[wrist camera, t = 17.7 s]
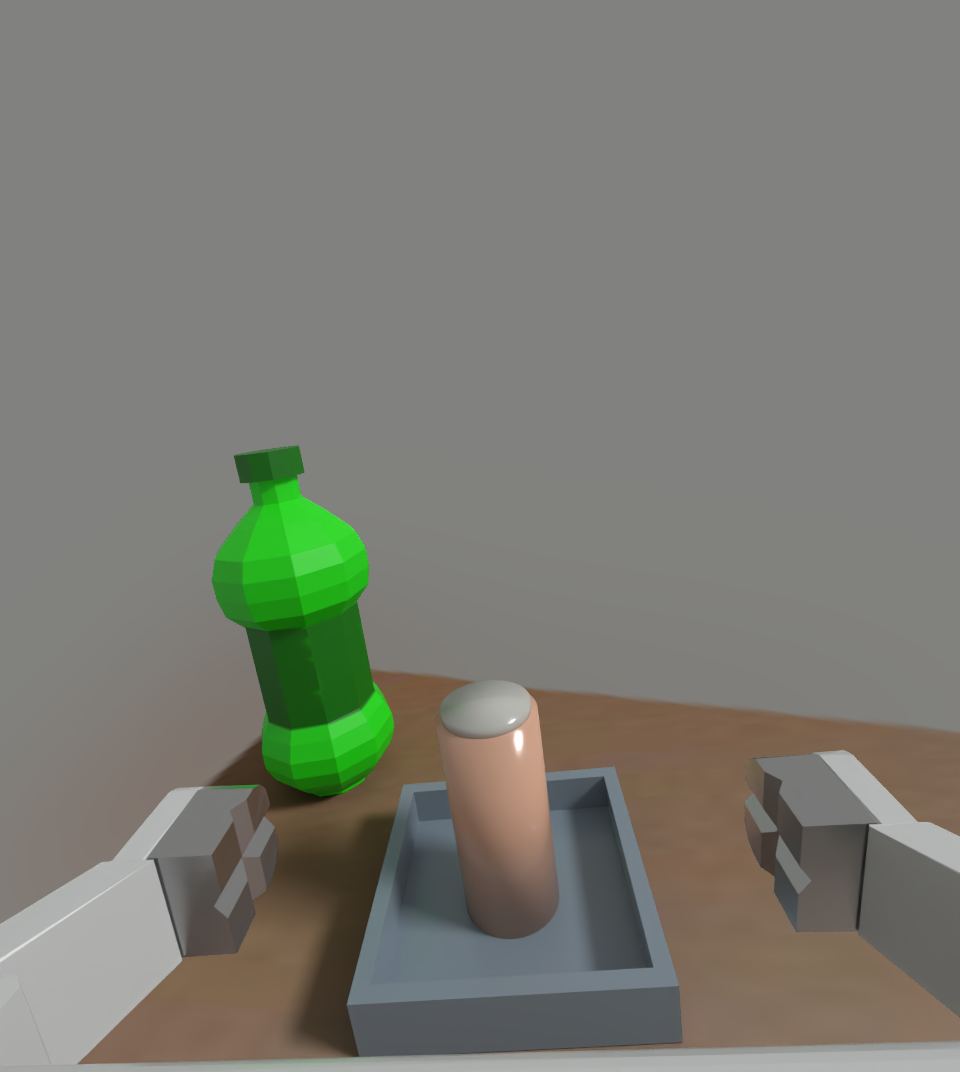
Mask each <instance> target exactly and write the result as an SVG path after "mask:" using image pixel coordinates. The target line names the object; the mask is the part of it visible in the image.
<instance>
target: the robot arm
mask: <svg viewBox="0 0 960 1072" xmlns="http://www.w3.org/2000/svg"><path fill="white" fill-rule="evenodd" d="M745 780H746V782H747V783H748V785H749V786H750V788H751V790H752V791H753V793H752V794H751V796H750V797H749V798H748V799H747V801H746V802H745V825H746V830H747V835H748V840H749V843H750V845H751V848H752V851H753V853H754V855H755V857H756V859H757V861H758V863H759V865H760V867H761V868H763V869H764V870H766V871H767V872H769V873H770V874H771V875H773V876H774V877H775V884H774V892H775V894H776V896H777V898H778V900H779V902H780V903H781V905H782V907H783V909H784V911H785V912H786V914H787V916H788V918H789V920H790V921H791V923H792V925H793V927H794V929H795V931H796V932H859V933H858V935H859V936H860V937H862V938H863V939H864V940H865V941H866V942H868V943H869V944H870V945H871V946H873V947H874V948H875V949H876V950H878V951H879V952H880V953H881V954H882V955H884V956H885V957H886V958H887V959H889V960H890V961H891V962H892V963H894V964H895V965H896V966H897V967H898V968H900V969H901V970H902V971H903V972H905V973H906V974H907V975H908V976H909V977H911V978H912V979H913V980H914V981H916V982H917V983H918V984H919V985H921V986H922V987H923V988H924V989H925V990H927V991H928V992H929V993H930V994H932V995H933V996H934V997H935V998H937V999H938V1000H939V1001H940V1002H941V1003H943V1004H944V1005H945V1006H946V1007H948V1008H949V1009H950V1010H951V1011H952V1012H954V1013H955V1014H956V1015H957V1016H959V1017H960V837H959V836H957V835H955V834H953V833H951V832H949V831H947V830H945V829H943V828H940V827H938V826H936V825H934V824H932V823H930V822H917V821H916V820H915V819H914V818H913V817H912V815H911V814H910V813H909V812H908V811H907V810H906V809H905V808H904V807H903V806H902V805H901V804H900V803H899V802H898V801H897V800H896V799H895V798H894V797H893V796H892V795H891V794H890V793H889V792H888V791H887V790H886V789H885V788H884V787H883V786H882V785H881V784H880V783H879V782H878V781H877V779H876V778H875V777H874V776H873V775H872V774H871V773H870V772H869V771H868V770H867V769H866V768H865V767H864V766H863V765H862V764H861V763H860V762H859V761H858V760H857V759H856V758H855V757H854V756H853V755H852V754H851V753H849V752H846V751H844V750H841V751H829V752H818V753H812V754H806V755H789V756H773V757H756V758H749V759H748V761H747V764H746V774H745ZM269 806H270V802H269V799H268V795H267V791H266V788H264V787H263V786H261V785H233V786H206V787H188V788H187V787H186V788H177V789H174V790H172V791H170V792H169V793H168V794H167V795H166V796H165V798H164V799H163V800H162V801H161V802H160V804H159V805H158V806H157V807H156V808H155V810H154V811H153V812H152V813H151V815H150V816H149V817H148V818H147V819H146V821H145V822H144V823H143V824H142V825H141V827H140V828H139V829H138V830H137V831H136V833H135V834H134V835H133V836H132V837H131V839H130V840H129V841H128V842H127V844H126V845H125V846H124V847H123V848H122V850H121V851H120V852H119V853H118V854H117V856H116V857H115V858H114V859H113V860H112V861H111V862H101V863H100V864H98V865H96V866H95V867H93V868H92V869H90V870H88V871H87V872H85V873H83V874H82V875H80V876H78V877H77V878H75V879H74V880H72V881H70V882H69V883H67V884H66V885H64V886H62V887H60V888H59V889H57V890H55V891H54V892H52V893H51V894H49V895H47V896H46V897H44V898H42V899H41V900H39V901H37V902H36V903H34V904H32V905H31V906H29V907H28V908H26V909H24V910H23V911H21V912H19V913H18V914H16V915H14V916H13V917H11V918H10V919H8V920H6V921H5V922H3V923H1V924H0V1072H960V1041H932V1042H895V1043H859V1044H823V1045H785V1046H747V1047H708V1048H670V1049H632V1050H593V1051H556V1052H519V1053H482V1054H445V1055H409V1056H372V1057H335V1058H298V1059H261V1060H224V1061H187V1062H150V1063H113V1064H77V1063H78V1062H79V1061H80V1060H81V1059H82V1058H83V1057H84V1056H86V1055H87V1054H88V1053H89V1052H90V1051H91V1050H92V1049H93V1048H94V1047H95V1046H96V1045H97V1044H98V1043H99V1042H100V1041H101V1040H102V1039H103V1038H104V1037H105V1036H106V1035H107V1034H108V1033H109V1032H110V1031H111V1030H112V1029H113V1028H114V1027H115V1026H116V1025H117V1024H118V1023H119V1022H120V1021H121V1020H122V1019H123V1018H124V1017H125V1016H126V1015H127V1014H128V1013H129V1012H130V1011H131V1010H132V1009H133V1008H135V1007H136V1006H137V1005H138V1004H139V1003H140V1002H141V1001H142V1000H143V999H144V998H145V997H146V996H147V995H148V994H149V993H150V992H151V991H152V990H153V989H154V988H155V987H156V986H157V985H158V984H159V983H160V982H161V981H162V980H163V979H164V978H165V977H166V976H167V975H168V974H169V973H170V972H171V971H172V970H173V969H174V968H175V967H176V966H177V965H178V964H179V963H180V962H181V961H182V957H194V956H208V955H222V954H236V953H237V952H238V950H239V948H240V945H241V943H242V941H243V939H244V937H245V935H246V933H247V931H248V929H249V926H250V924H251V922H252V920H253V918H254V916H255V910H254V905H253V900H255V899H256V898H257V897H258V896H259V895H261V894H262V893H263V892H264V891H265V890H267V888H268V886H269V883H270V881H271V879H272V877H273V874H274V870H275V866H276V861H277V856H278V839H277V834H276V829H275V827H274V826H273V825H272V824H271V823H270V822H269V821H268V820H267V819H266V818H265V817H264V815H265V814H266V812H267V810H268V808H269Z"/></svg>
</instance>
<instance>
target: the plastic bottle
mask: <svg viewBox="0 0 960 1072" xmlns="http://www.w3.org/2000/svg"><path fill="white" fill-rule="evenodd" d="M234 458H235V463H236V467H237V471H238V475H239V479H240V483H249V485H250V489H251V493H252V498H253V502H254V504H253V506H252V507H251V508H250V509H249V510H248V512H247V513H246V514H245V515H244V516H243V518H242V519H241V520H240V521H239V522H238V524H237V525H236V526H235V528H234V529H233V530H232V532H231V533H230V534H229V536H228V538H227V539H226V540H225V541H224V543H223V544H222V546H221V547H220V548H219V550H218V552H217V555H216V558H215V563H214V570H213V577H212V583H213V587H214V591H215V595H216V599H217V601H218V603H219V605H220V607H221V609H222V611H223V613H224V614H225V616H226V618H228V619H230V620H232V621H234V622H236V623H237V624H239V625H241V626H243V627H245V628H246V631H247V635H248V639H249V643H250V647H251V651H252V655H253V659H254V664H255V668H256V672H257V676H258V680H259V684H260V688H261V692H262V696H263V700H264V704H265V708H266V714H265V717H264V723H263V728H262V756H263V760H264V764H265V767H266V769H267V770H268V772H269V773H270V774H271V775H272V776H273V777H274V778H275V779H276V780H278V781H280V782H282V783H284V784H286V785H289V786H291V787H294V788H296V789H299V790H301V791H304V792H306V793H312V794H315V795H317V796H320V797H322V796H329V795H335V794H342V793H344V792H346V791H348V790H350V789H351V788H353V787H355V786H357V785H358V784H360V783H362V782H363V781H364V779H365V778H366V776H367V775H368V774H369V773H370V772H371V771H372V770H373V768H374V767H375V765H376V764H377V762H378V761H379V759H380V758H381V756H382V755H383V753H384V752H385V750H386V748H387V747H388V745H389V743H390V742H391V739H392V735H393V730H394V723H393V717H392V713H391V711H390V708H389V706H388V704H387V702H386V700H385V698H384V696H383V694H382V693H381V691H380V690H379V688H378V687H377V685H376V684H375V683H374V682H373V681H372V676H371V670H370V665H369V661H368V655H367V650H366V645H365V640H364V634H363V629H362V624H361V619H360V615H359V609H358V604H357V600H358V598H359V597H360V595H361V594H362V592H363V591H364V589H365V588H366V586H367V585H368V576H369V575H368V574H369V564H368V558H367V553H366V548H365V546H364V545H363V543H362V541H361V540H360V538H359V536H358V535H357V533H356V532H355V531H354V529H353V528H352V527H351V526H350V525H349V524H347V523H346V522H344V521H343V520H341V519H339V518H338V517H337V516H335V515H333V514H332V513H330V512H329V511H327V510H326V509H324V508H322V507H320V506H319V505H317V504H315V503H313V502H311V501H310V500H308V499H306V498H304V497H302V496H301V493H300V488H299V484H298V479H297V475H298V474H301V473H304V468H303V463H302V459H301V454H300V450H299V446H289V447H280V448H273V449H266V450H260V451H254V452H247V453H242V454H237V455H234Z"/></svg>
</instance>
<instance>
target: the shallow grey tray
mask: <svg viewBox="0 0 960 1072" xmlns="http://www.w3.org/2000/svg"><path fill="white" fill-rule="evenodd" d="M545 775H546V783H547V792H548V800H549V809H550V817H551V825H552V834H553V842H554V851H555V859H556V868H557V876H558V885H559V896H560V898H559V904H558V908H557V910H556V912H555V914H554V916H553V918H552V919H551V920H550V921H549V923H548V924H547V925H546V926H544V927H543V928H542V929H541V930H539V931H538V932H536V933H534V934H532V935H529V936H527V937H523V938H518V939H501V938H497V937H493V936H491V935H488V934H486V933H485V932H483V931H482V930H480V929H479V928H478V927H477V926H476V925H475V924H474V923H473V921H472V920H471V918H470V916H469V914H468V911H467V907H466V901H465V895H464V889H463V883H462V877H461V871H460V865H459V859H458V853H457V847H456V841H455V835H454V829H453V823H452V817H451V811H450V806H449V800H448V794H447V788H446V782H445V781H443V782H431V783H419V784H407V785H403V788H402V792H401V796H400V800H399V804H398V808H397V812H396V815H395V819H394V823H393V827H392V831H391V835H390V839H389V843H388V847H387V850H386V854H385V858H384V862H383V866H382V870H381V874H380V878H379V881H378V885H377V889H376V893H375V897H374V901H373V905H372V909H371V913H370V916H369V920H368V924H367V928H366V932H365V936H364V940H363V944H362V948H361V951H360V955H359V959H358V963H357V967H356V971H355V975H354V979H353V982H352V986H351V990H350V994H349V998H348V1002H347V1008H348V1013H349V1017H350V1021H351V1025H352V1029H353V1033H354V1037H355V1041H356V1045H357V1049H358V1054H359V1057H372V1056H409V1055H441V1054H461V1053H481V1052H501V1051H521V1050H540V1049H560V1048H580V1047H600V1046H620V1045H640V1044H660V1043H680V1042H682V1027H681V1010H680V993H679V984H678V981H677V977H676V974H675V970H674V967H673V964H672V960H671V957H670V953H669V950H668V947H667V943H666V940H665V936H664V933H663V930H662V926H661V923H660V919H659V916H658V913H657V909H656V906H655V902H654V899H653V896H652V892H651V889H650V886H649V882H648V879H647V875H646V872H645V869H644V865H643V862H642V858H641V855H640V852H639V848H638V845H637V841H636V838H635V835H634V831H633V828H632V824H631V821H630V818H629V814H628V811H627V807H626V804H625V801H624V797H623V794H622V790H621V787H620V784H619V780H618V777H617V773H616V770H615V767H606V768H594V769H583V770H571V771H559V772H548V773H545Z"/></svg>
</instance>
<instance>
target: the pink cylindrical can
mask: <svg viewBox="0 0 960 1072" xmlns="http://www.w3.org/2000/svg"><path fill="white" fill-rule="evenodd" d="M435 722H436V728H437V734H438V740H439V746H440V752H441V758H442V764H443V770H444V776H445V782H446V788H447V794H448V800H449V806H450V811H451V817H452V823H453V829H454V835H455V841H456V847H457V853H458V859H459V865H460V871H461V877H462V883H463V889H464V895H465V901H466V907H467V911H468V914H469V916H470V918H471V920H472V921H473V923H474V924H475V925H476V926H477V927H478V928H479V929H480V930H482V931H483V932H485V933H486V934H488V935H491V936H493V937H497V938H501V939H518V938H523V937H527V936H529V935H532V934H534V933H536V932H538V931H539V930H541V929H542V928H543V927H544V926H546V925H547V924H548V923H549V921H550V920H551V919H552V918H553V916H554V914H555V912H556V910H557V908H558V904H559V898H560V896H559V885H558V876H557V868H556V859H555V851H554V842H553V834H552V825H551V817H550V809H549V800H548V792H547V783H546V775H545V766H544V758H543V749H542V741H541V733H540V724H539V716H538V707H537V703H536V701H535V700H534V698H533V697H532V696H531V695H529V693H528V692H527V691H526V690H525V689H524V688H523V687H522V686H520V685H518V684H515V683H512V682H508V681H502V680H486V681H479V682H475V683H471V684H468V685H465V686H462V687H460V688H458V689H456V690H455V691H453V692H451V693H450V694H449V695H448V696H447V697H446V698H445V699H444V700H443V702H442V703H441V706H440V709H439V710H438V712H437V714H436V719H435Z"/></svg>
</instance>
